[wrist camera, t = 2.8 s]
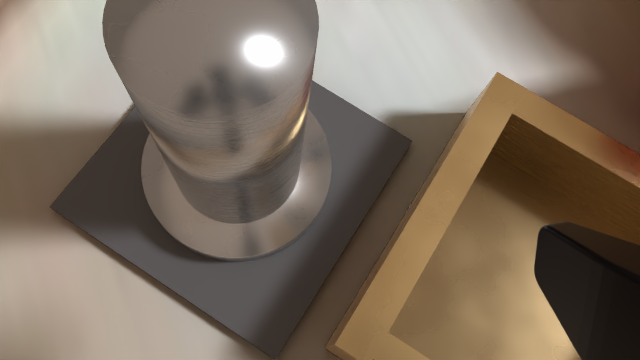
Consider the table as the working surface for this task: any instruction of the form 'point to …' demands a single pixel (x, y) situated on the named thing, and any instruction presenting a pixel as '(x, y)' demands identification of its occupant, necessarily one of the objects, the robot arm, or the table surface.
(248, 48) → the sleeve
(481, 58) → the table surface
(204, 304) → the stand pad
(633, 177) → the open tan box
